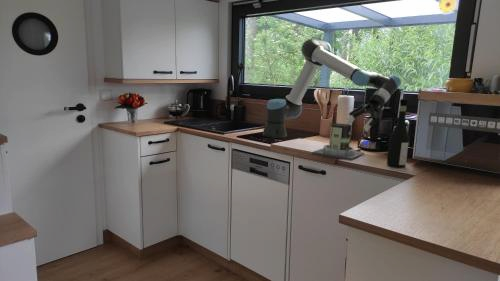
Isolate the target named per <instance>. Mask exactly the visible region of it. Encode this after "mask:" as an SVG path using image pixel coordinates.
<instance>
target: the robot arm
mask: <svg viewBox="0 0 500 281" xmlns="http://www.w3.org/2000/svg"><path fill="white" fill-rule="evenodd" d="M301 53H302V56H303V57H304V59H305V62H304V63H303V64H304V65H303V66H302V69H301V71H300V72H299V75H298V77H297V78H296V81H295V82H294V85H293V87H292V89H291V91H290V93H289V94H287V95H286V96H285V98H273V99H269V100H268V101H267V104H266V122H265V126H264V128H263V131H262V136H263V137H265V138H272V139H274V138H275V139H283V138H284V139H285V138H287V136H288V134H287V128H286V126H285V124H286V122H285V121H286V120H292V119H296V118H298V117H299V116H301V113H302V110H303V108H302V105H303V101H302V100H303V98H304V96H305V94H306V92H307V91H308V88H309V87H310V85H311V82H312V81H313V79H314V78H315V75H316V73H317V71H318V69H319V68H321V67H323V66H325V67H327V68H328V69H329V70H332V71H333V72H336V73H337V74H339V75H341V76H343V77H344V78H346V79H348V80H349V81H352V83H353V84H354V85H355V86H358V87H372V88H375V89H376V91H374V93H373V94H372V95H371V96H370V98H369V99H368V102H367V103H365V102H363V103H361V104H360V105H359V106H357V107H356V108H354V109H353V110H352V111H350V112H349V113H348V115H349V117H348V118H347V120H346V122H344V124H348V125H352V123H353V122H354V121H355V119H356V118H358V117H359V116H362V115H364V114H367V113H368V114H369V113H370V114H372V118H370V119H369V120H368V121H367V123H366V124H365V125H364V126H363V130H364V131H365V132H367V133H368V132H369V130H370V129H371V127H373V126H374V124H376V123H377V122H379V123H380V122H381V121H382V117H383V112H384V111H385V104H386V103H387V102H388V100H389V99H390V98H391V97H392V95H394V93H395V92H396V91H398V88H400V85H401V84H402V81H401V80H402V79H400V77H399V76H398V75H396V74H390V75H388V76H386V75H382V74H380V73H377V72H375V71H373V70H369V69H367V70H363V69H362V68H359V66H356V65H354V64H353V63H351V62H349V61H347V60H345V59H343V58H341V57H339V56H337V55H335V54H334V53H333V49H332V46H331V44H330V43H329V42H327V41H324V40H320V39H316V38H309V39H307V40H305V41H304V42H303V44H302V45H301Z"/></svg>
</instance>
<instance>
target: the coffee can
mask: <svg viewBox="0 0 500 281" xmlns="http://www.w3.org/2000/svg"><path fill="white" fill-rule="evenodd" d="M352 126H353V125H352V124H350V125H348V124H345V123H337V122H336V123H330V129H329V130H330V132H329V144H328V145H329V148H331V149H337V150H349V146H350V145H351V144H350V143H351V135H352ZM350 147H351V146H350Z"/></svg>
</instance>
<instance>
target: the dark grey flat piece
mask: <svg viewBox="0 0 500 281" xmlns="http://www.w3.org/2000/svg"><path fill="white" fill-rule="evenodd" d="M311 154H312V155H317V156H323V157H328V158H336V159H339V160H340V159H341V160H347V161H354V160H356V159H357V158H360V157H361V156H363V155H365V152H362V151H359V150H357V151H356V149H355V148H354V147H352V146H349V150H337V149H331V148H329V144H324V145H323V147H322V148H320V149H317V150H315V151H314V150H313V151H312V152H311Z"/></svg>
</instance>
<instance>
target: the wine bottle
mask: <svg viewBox="0 0 500 281" xmlns="http://www.w3.org/2000/svg"><path fill="white" fill-rule="evenodd" d="M408 101H409V100H408V99H405V98H400V101H399V112H398V119H397V123H396V125H395V127H394V129H393V130H392V133H391V134H390V137H389V141H388V150H387V158H386V159H387V160H386V164H387V165H388V166H390V167H392V168H396V169H398V168H399V169H400V168H401V169H402V168H405V167H406V165H407V159H408V158H407V157H408V150H409V145H410V144H409V142H410V140H409V133H408V130H407V126H406V115H407V114H406V113H407V105H408Z"/></svg>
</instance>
